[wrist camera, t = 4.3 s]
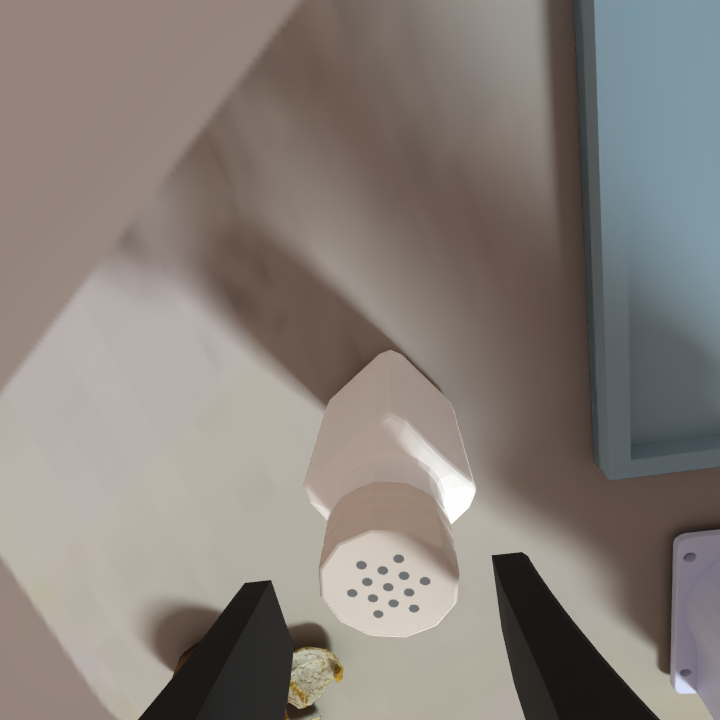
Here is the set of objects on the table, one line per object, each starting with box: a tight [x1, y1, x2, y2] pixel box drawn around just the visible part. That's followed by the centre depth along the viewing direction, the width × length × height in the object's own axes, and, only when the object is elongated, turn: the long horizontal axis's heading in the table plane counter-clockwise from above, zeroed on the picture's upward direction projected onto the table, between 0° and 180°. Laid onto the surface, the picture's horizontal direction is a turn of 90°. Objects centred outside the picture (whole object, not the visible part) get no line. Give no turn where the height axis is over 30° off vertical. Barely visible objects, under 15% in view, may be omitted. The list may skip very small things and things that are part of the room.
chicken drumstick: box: [173, 642, 343, 720], centre depth 23 cm, size 8×8×4 cm
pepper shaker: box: [304, 350, 476, 637], centre depth 15 cm, size 4×4×10 cm
